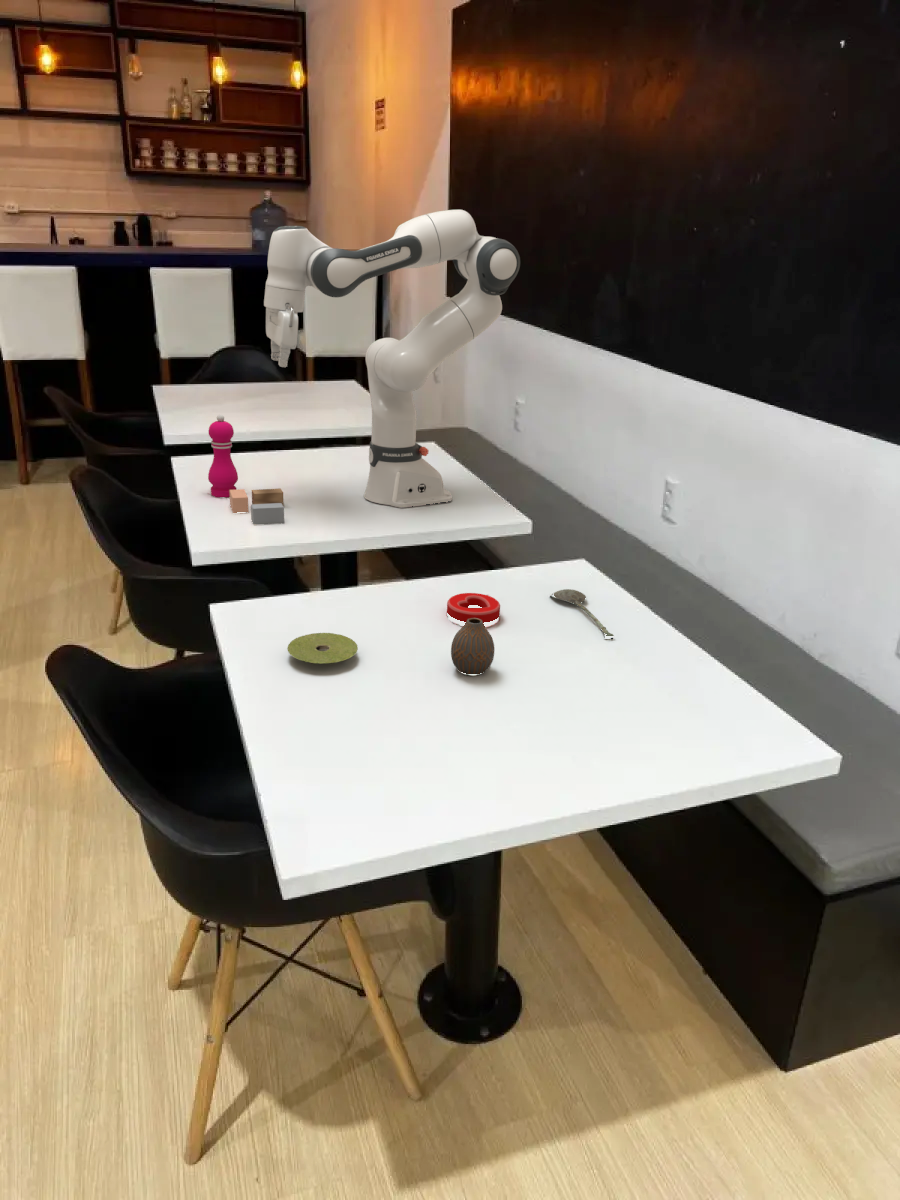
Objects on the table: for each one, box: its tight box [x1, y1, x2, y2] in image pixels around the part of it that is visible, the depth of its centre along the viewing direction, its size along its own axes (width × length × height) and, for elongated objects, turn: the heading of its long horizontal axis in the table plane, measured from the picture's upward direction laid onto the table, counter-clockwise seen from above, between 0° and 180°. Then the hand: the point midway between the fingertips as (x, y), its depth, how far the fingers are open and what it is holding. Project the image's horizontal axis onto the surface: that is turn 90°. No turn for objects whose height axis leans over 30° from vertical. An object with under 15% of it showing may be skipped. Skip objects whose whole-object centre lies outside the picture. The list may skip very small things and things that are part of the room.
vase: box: [450, 618, 495, 674], centre depth 145 cm, size 7×7×9 cm
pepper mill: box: [207, 414, 239, 498], centre depth 226 cm, size 7×7×20 cm
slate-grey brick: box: [250, 503, 285, 525], centre depth 211 cm, size 7×4×4 cm, turn 110°
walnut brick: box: [251, 488, 285, 508], centre depth 222 cm, size 7×4×4 cm, turn 111°
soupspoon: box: [553, 588, 615, 637], centre depth 170 cm, size 22×3×7 cm
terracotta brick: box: [229, 488, 249, 513], centre depth 218 cm, size 7×4×4 cm, turn 19°
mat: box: [286, 632, 359, 664], centre depth 148 cm, size 11×11×2 cm
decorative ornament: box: [446, 592, 501, 623], centre depth 166 cm, size 10×10×3 cm
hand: (278, 363), depth 212 cm, fingers open, 8 cm apart
